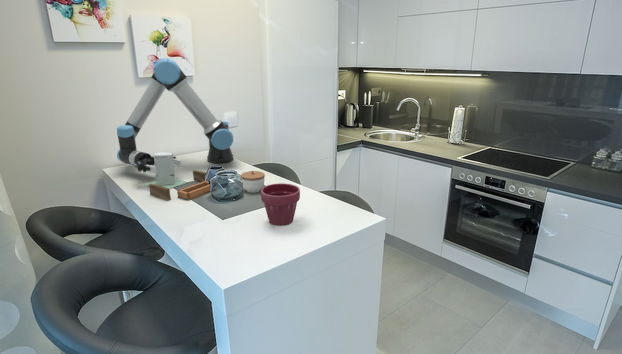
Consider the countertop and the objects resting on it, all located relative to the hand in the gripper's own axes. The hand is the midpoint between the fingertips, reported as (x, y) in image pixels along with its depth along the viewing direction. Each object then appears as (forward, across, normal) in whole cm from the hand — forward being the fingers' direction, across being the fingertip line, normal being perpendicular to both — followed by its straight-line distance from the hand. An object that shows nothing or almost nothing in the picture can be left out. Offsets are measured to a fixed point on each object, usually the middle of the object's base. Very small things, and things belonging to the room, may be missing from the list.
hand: (168, 166), depth 163 cm
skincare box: (-3, 0, -9) cm, 10 cm away
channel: (+9, 0, -10) cm, 13 cm away
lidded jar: (+37, -17, -10) cm, 42 cm away
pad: (-3, 0, -10) cm, 10 cm away
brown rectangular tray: (+18, 0, -10) cm, 21 cm away
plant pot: (+67, +2, -10) cm, 68 cm away
